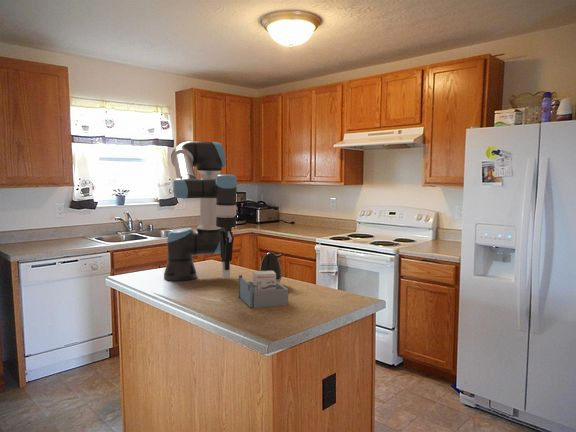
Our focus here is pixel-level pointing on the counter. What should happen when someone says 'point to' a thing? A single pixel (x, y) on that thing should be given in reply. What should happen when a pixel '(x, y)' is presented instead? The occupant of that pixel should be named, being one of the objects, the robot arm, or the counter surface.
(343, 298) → the counter surface
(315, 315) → the counter surface
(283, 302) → the grey open box
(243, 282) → the blue-grey flat plate
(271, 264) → the pump dispenser
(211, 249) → the robot arm
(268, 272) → the ink box
